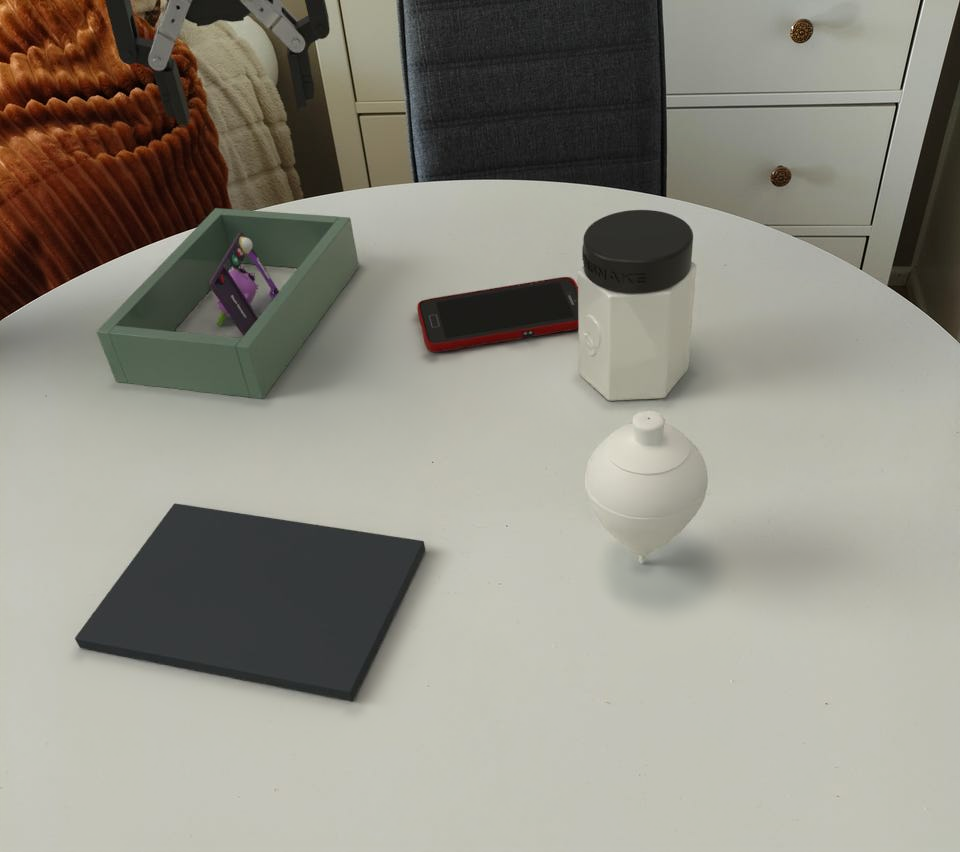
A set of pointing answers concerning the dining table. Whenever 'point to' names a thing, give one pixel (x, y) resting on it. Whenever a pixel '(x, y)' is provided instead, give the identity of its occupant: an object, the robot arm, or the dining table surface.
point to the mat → (257, 599)
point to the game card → (238, 285)
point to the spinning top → (646, 483)
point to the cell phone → (499, 314)
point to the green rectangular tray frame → (185, 281)
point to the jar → (635, 304)
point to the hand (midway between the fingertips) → (243, 113)
